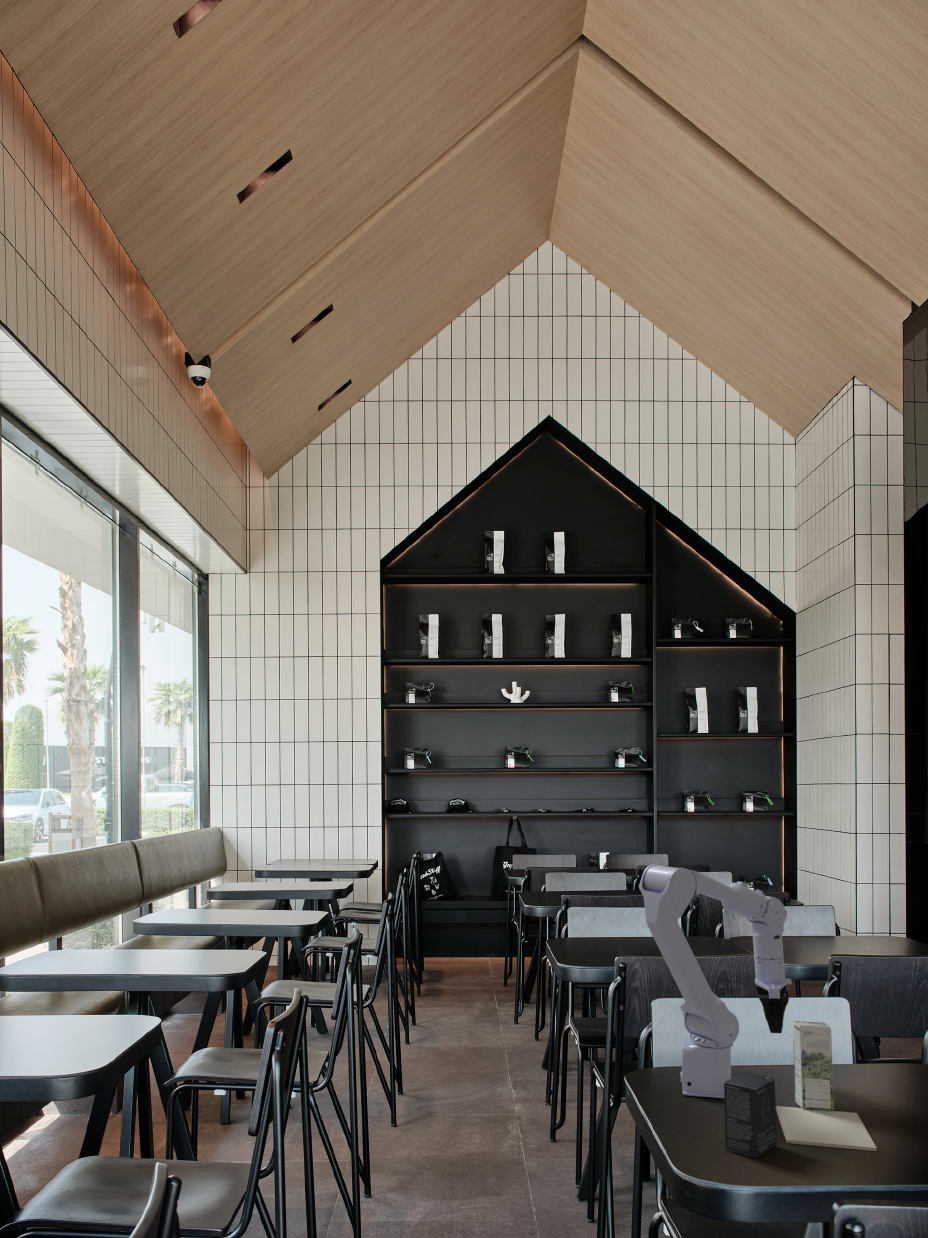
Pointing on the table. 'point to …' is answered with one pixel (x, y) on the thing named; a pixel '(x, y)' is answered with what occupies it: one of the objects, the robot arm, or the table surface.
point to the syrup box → (813, 1065)
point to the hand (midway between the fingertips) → (773, 1027)
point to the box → (750, 1114)
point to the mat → (824, 1128)
